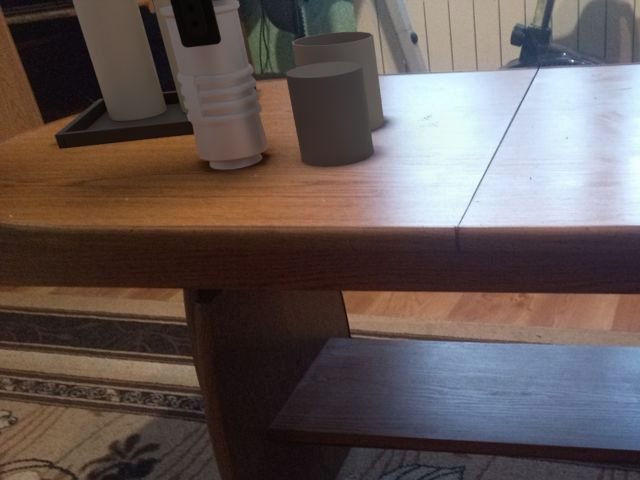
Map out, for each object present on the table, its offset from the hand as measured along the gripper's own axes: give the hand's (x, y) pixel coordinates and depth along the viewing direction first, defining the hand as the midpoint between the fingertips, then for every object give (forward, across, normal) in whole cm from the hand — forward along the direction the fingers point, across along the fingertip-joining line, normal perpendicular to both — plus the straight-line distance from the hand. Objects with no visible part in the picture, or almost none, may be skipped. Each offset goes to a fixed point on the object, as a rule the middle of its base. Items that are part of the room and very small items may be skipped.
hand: (210, 37), depth 66 cm
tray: (+12, -24, -12) cm, 29 cm away
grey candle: (+12, +2, +10) cm, 16 cm away
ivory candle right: (+12, -29, -7) cm, 32 cm away
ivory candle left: (+11, -29, -16) cm, 35 cm away
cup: (+13, -9, +10) cm, 19 cm away
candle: (+12, 0, 0) cm, 13 cm away
